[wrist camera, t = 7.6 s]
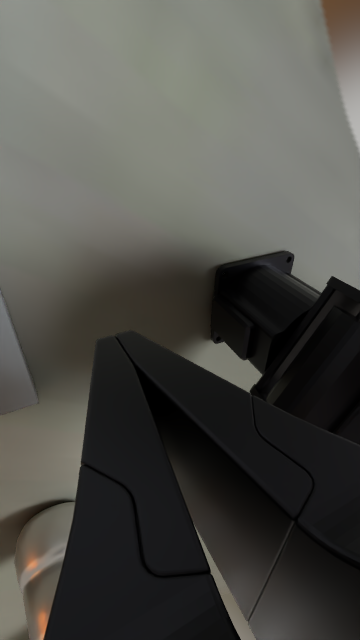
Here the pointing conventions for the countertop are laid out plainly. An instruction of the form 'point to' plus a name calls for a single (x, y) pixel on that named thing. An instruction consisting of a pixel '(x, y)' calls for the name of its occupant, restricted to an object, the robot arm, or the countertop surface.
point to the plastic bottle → (42, 563)
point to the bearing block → (13, 368)
